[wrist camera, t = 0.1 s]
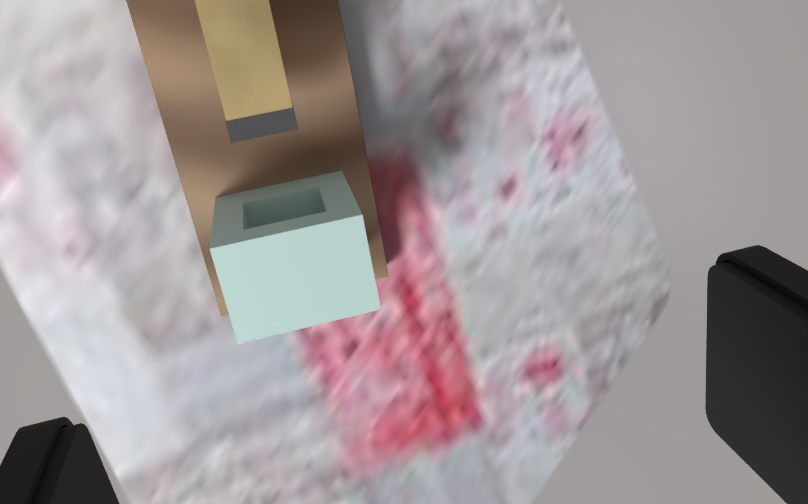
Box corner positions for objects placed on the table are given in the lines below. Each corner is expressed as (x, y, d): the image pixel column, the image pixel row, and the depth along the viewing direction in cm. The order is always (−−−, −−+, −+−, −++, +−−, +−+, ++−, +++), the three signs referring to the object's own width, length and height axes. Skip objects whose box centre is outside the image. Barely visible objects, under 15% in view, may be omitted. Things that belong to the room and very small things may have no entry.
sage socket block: (215, 197, 38) (209, 249, 32) (341, 170, 39) (362, 214, 33) (238, 279, 40) (237, 343, 34) (358, 251, 41) (380, 309, 35)
